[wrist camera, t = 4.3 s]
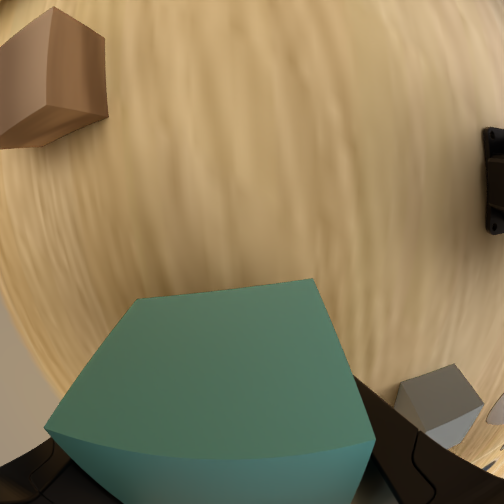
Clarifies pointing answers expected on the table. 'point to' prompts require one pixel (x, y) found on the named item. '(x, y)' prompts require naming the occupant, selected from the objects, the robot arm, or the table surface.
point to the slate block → (440, 404)
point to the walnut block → (50, 81)
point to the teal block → (220, 402)
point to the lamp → (497, 413)
